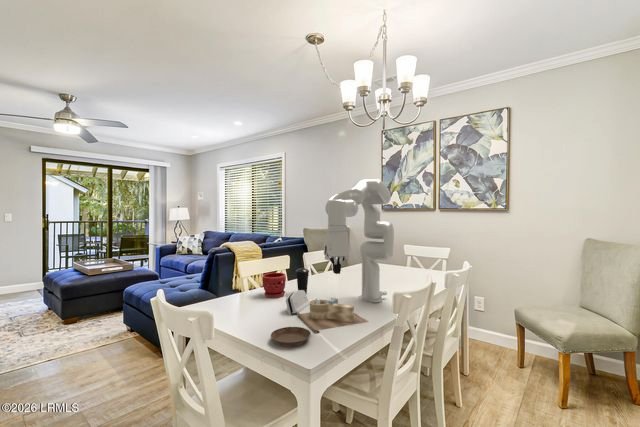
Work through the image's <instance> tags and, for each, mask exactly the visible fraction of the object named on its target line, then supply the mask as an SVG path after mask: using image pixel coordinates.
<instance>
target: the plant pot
mask: <svg viewBox="0 0 640 427" xmlns="http://www.w3.org/2000/svg"><path fill="white" fill-rule="evenodd" d="M261 276H262V278H261V280H262V287H263V290H264V296H265V297H268V298H270V299H271V298H274V299H275V298H280V297H283V296H285V294H286V290H285V288H286V281H287V277H286V276H287V274H286V273H283V272H270V273H265V274H262V275H261Z"/></svg>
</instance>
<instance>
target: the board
mask: <svg viewBox="0 0 640 427" xmlns="http://www.w3.org/2000/svg"><path fill="white" fill-rule="evenodd" d="M297 317H298V318H299V319H300V320H301V321H303V323H304V324H305V325H306V326H308V327H309V329H311V331H313V332H314V334H318V333H320V331H321V330H327V329H333V328H340V327H341V328H342V327H346V326H347V327H348V326H354V325H358V324H365V323H369V321H368V320H366V319H365V318H363V317H361V316H360V315H358V314H357V313H355V312H354V320H353V321H352V322H347V321H341V320H335V319H329V318H326V319H314V318H311V317H310V312H303V313H299V314H297Z"/></svg>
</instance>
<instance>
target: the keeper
mask: <svg viewBox="0 0 640 427" xmlns="http://www.w3.org/2000/svg"><path fill="white" fill-rule="evenodd" d="M333 303H336V304H339V299H338V298H337V297H333V298H330V299H329V300H328V304H333Z"/></svg>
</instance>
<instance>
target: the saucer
mask: <svg viewBox="0 0 640 427" xmlns="http://www.w3.org/2000/svg"><path fill="white" fill-rule="evenodd" d="M311 335H312V333H311V331H310V330H308V329H307V328H304V327H301V326H300V327H299V326H286V327H281V328H280V327H279V328H277V329H275V330H274V331H272V332H271V334H270V338H271V339H272V341H273V342H274V343H276V344H277V345H279V346H281V347H288V348H289V347H290V348H291V347H297V346H301V345H302V344H304V343H306V341H307V340H309V338H310V337H311Z"/></svg>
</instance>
